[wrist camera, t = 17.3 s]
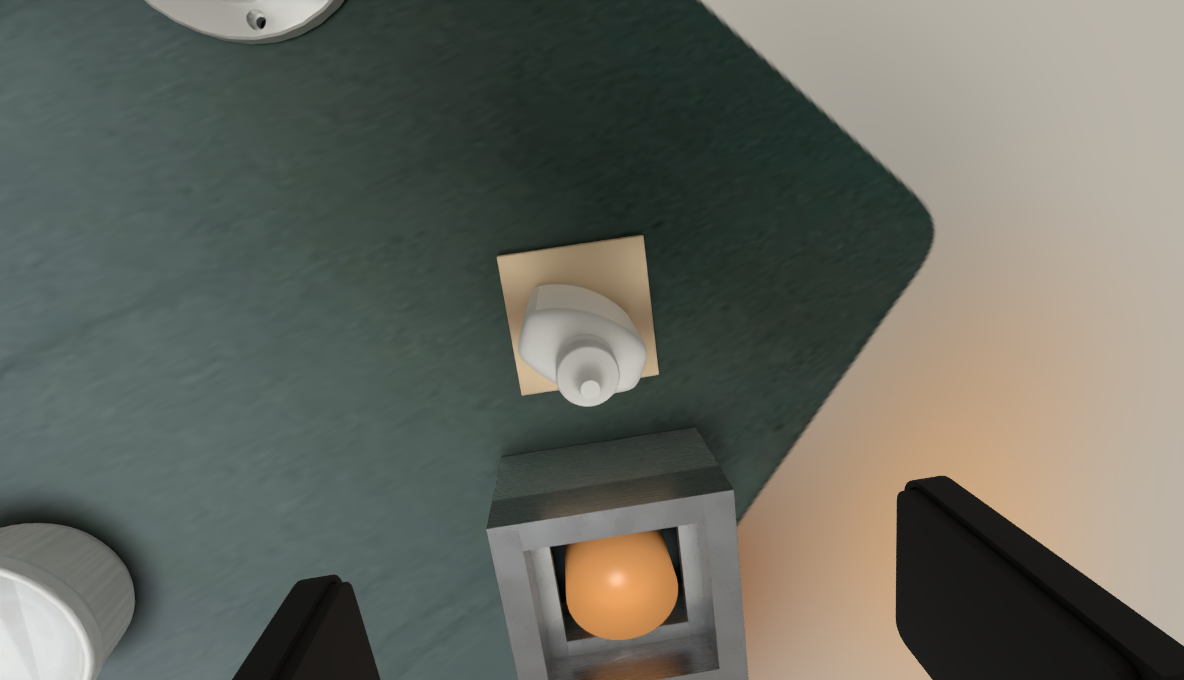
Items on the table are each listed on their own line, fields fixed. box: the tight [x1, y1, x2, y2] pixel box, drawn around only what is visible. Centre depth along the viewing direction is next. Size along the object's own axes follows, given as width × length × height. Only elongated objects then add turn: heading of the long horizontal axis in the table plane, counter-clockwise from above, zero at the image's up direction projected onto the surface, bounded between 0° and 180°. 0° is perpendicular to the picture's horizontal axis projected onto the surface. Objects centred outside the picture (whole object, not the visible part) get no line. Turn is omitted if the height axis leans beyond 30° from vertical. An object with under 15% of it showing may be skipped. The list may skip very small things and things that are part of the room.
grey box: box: [487, 427, 748, 680], centre depth 32 cm, size 12×12×8 cm
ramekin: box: [0, 523, 135, 680], centre depth 31 cm, size 11×11×5 cm
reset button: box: [565, 529, 678, 640], centre depth 32 cm, size 6×6×6 cm
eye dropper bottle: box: [518, 284, 647, 407], centre depth 25 cm, size 4×6×12 cm
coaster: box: [497, 235, 659, 395], centre depth 31 cm, size 8×8×1 cm
